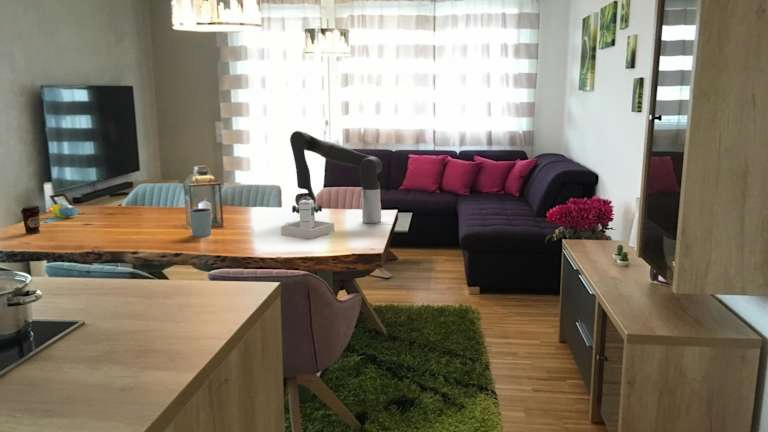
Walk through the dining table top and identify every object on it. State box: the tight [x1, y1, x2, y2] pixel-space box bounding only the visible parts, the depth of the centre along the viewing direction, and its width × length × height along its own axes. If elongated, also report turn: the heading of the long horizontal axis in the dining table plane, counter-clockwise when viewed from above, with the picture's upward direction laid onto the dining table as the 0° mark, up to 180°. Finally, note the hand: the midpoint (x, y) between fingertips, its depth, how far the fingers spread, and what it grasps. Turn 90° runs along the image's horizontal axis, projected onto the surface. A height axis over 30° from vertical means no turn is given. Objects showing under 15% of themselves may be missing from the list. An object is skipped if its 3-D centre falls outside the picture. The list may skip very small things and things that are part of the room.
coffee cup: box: [20, 205, 41, 235], centre depth 314 cm, size 9×8×13 cm
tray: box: [280, 220, 335, 239], centre depth 309 cm, size 18×18×4 cm
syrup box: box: [299, 200, 316, 230], centre depth 308 cm, size 6×6×14 cm
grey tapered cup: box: [188, 207, 212, 238], centre depth 306 cm, size 10×10×12 cm
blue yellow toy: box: [40, 202, 82, 224], centre depth 352 cm, size 28×9×15 cm
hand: (307, 211), depth 307 cm, fingers open, 8 cm apart
